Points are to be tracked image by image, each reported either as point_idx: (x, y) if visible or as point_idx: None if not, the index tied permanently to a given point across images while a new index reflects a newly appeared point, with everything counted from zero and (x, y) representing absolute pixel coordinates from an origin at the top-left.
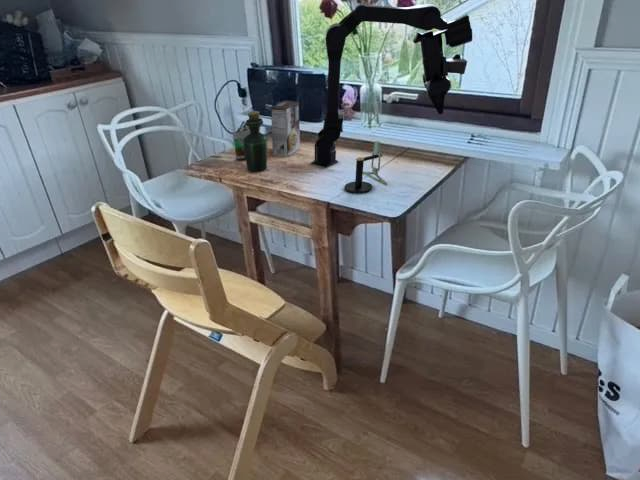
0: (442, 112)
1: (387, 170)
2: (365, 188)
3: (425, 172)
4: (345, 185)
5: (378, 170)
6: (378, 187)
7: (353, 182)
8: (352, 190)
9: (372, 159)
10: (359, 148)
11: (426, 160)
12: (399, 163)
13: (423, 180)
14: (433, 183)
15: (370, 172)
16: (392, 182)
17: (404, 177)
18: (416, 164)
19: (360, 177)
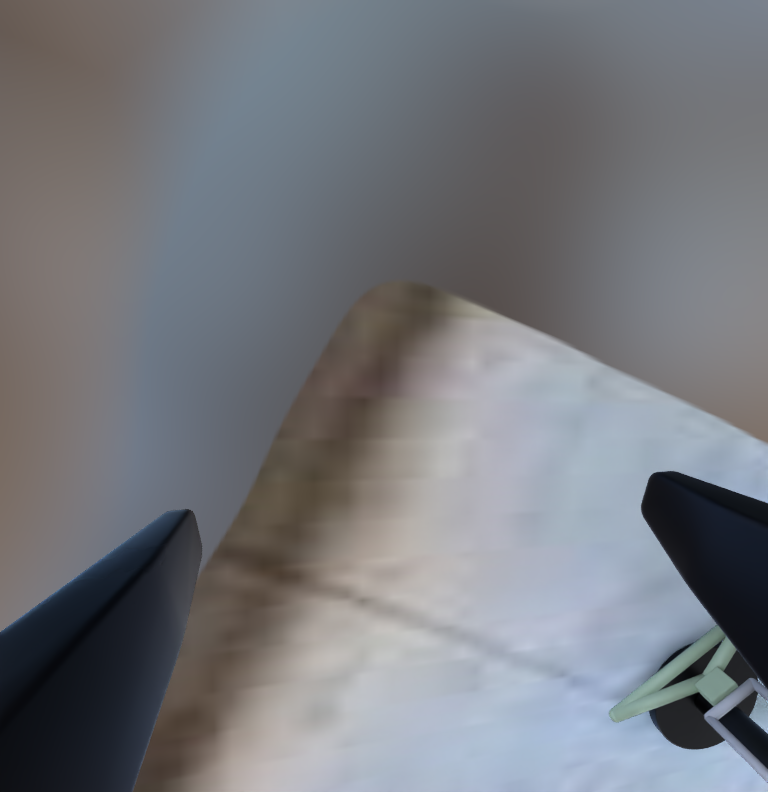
0: (684, 481)
1: (501, 603)
2: (733, 669)
3: (535, 430)
4: (695, 747)
5: (755, 682)
6: (693, 617)
7: (668, 725)
8: (745, 712)
9: (753, 759)
10: (155, 783)
11: (359, 424)
12: (404, 557)
13: (633, 439)
14: (670, 396)
15: (682, 697)
16: (645, 568)
17: (592, 523)
18: (421, 475)
19: (765, 732)
